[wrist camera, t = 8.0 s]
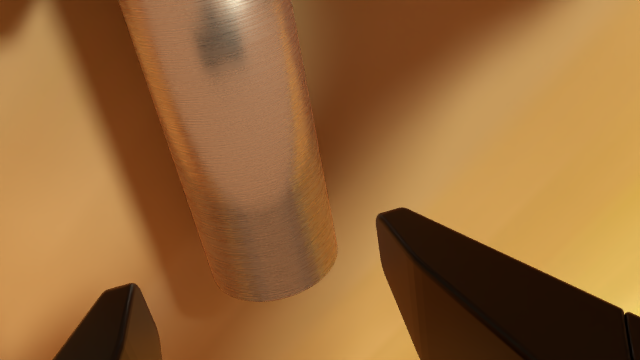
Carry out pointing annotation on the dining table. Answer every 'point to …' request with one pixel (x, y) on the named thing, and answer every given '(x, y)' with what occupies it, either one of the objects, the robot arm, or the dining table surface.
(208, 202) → the brown rounded bar
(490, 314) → the robot arm
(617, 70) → the dining table surface
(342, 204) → the dining table surface
